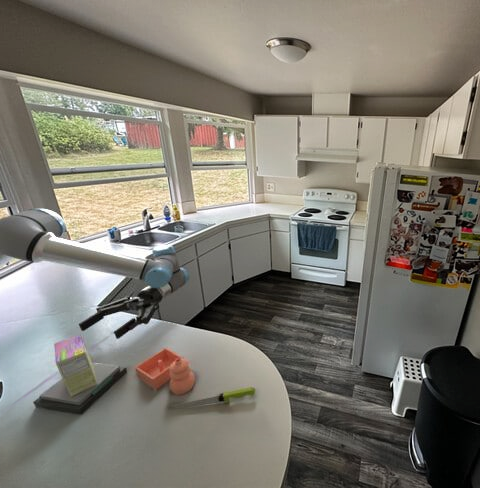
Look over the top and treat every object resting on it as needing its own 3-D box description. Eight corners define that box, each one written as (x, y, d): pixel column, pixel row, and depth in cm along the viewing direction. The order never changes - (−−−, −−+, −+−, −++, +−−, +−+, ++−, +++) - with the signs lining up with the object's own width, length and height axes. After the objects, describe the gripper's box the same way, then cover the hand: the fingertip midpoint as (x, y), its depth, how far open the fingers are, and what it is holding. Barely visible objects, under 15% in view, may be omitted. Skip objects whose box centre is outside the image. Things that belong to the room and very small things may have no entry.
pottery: (137, 377, 77) (130, 352, 74) (167, 357, 85) (162, 333, 82) (174, 403, 70) (168, 377, 66) (204, 378, 78) (199, 353, 74)
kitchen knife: (171, 415, 68) (169, 407, 67) (173, 410, 69) (170, 403, 68) (255, 397, 72) (254, 390, 71) (255, 393, 73) (254, 386, 72)
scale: (35, 407, 67) (31, 398, 66) (88, 366, 80) (85, 358, 79) (81, 414, 66) (77, 406, 65) (127, 372, 79) (124, 364, 78)
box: (66, 375, 73) (53, 343, 69) (92, 364, 77) (81, 333, 73) (69, 398, 67) (55, 363, 63) (97, 384, 71) (86, 351, 67)
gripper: (184, 306, 96) (134, 348, 77) (130, 296, 101) (71, 333, 82) (180, 290, 93) (128, 329, 74) (125, 280, 98) (62, 315, 79)
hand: (98, 331), depth 78 cm, fingers open, 13 cm apart
